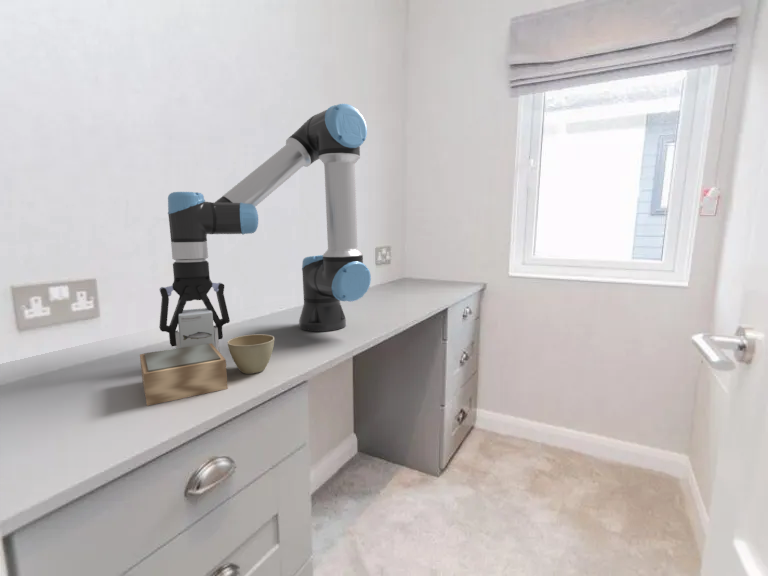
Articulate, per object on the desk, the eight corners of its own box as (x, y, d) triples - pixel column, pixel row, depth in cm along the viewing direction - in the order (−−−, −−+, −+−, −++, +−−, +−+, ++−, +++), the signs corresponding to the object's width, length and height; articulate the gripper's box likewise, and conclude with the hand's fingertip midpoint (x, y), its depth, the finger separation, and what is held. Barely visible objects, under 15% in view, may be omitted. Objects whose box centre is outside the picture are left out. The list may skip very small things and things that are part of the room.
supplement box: (182, 369, 92) (177, 315, 90) (181, 360, 98) (176, 309, 97) (216, 364, 95) (212, 312, 93) (214, 355, 102) (210, 306, 100)
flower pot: (284, 365, 94) (282, 335, 93) (258, 380, 85) (256, 347, 84) (248, 361, 97) (246, 332, 96) (219, 375, 88) (217, 343, 87)
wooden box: (213, 368, 92) (211, 342, 91) (227, 388, 81) (225, 358, 80) (142, 382, 84) (139, 353, 84) (146, 405, 73) (143, 372, 72)
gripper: (232, 257, 102) (238, 344, 105) (138, 261, 91) (147, 359, 94) (240, 259, 96) (246, 352, 99) (140, 264, 85) (150, 368, 88)
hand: (198, 355), depth 97 cm, fingers closed on supplement box, 8 cm apart
